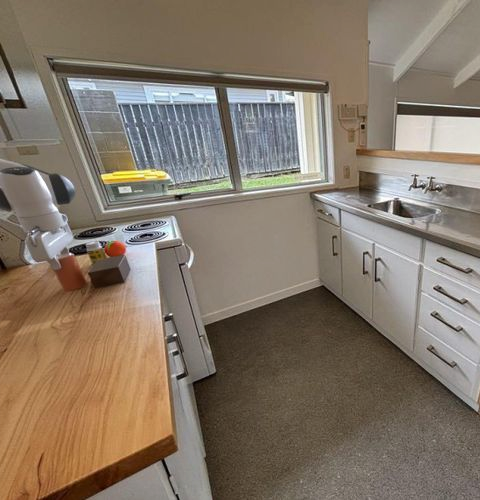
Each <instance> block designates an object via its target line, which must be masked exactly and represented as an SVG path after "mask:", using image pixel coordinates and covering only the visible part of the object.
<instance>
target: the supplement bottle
mask: <svg viewBox="0 0 480 500" xmlns="http://www.w3.org/2000/svg"><path fill="white" fill-rule="evenodd" d="M85 247H86V253H87V255H88V258H89V260H90V263H91V264H92V265H93V264H95V262H96V261H97V260H98V259H104V258H107V254H106V253H105V251H104V248H103V246H102V245H101V243H100V242H99V240H95V241H89V242H86V243H85Z"/></svg>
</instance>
